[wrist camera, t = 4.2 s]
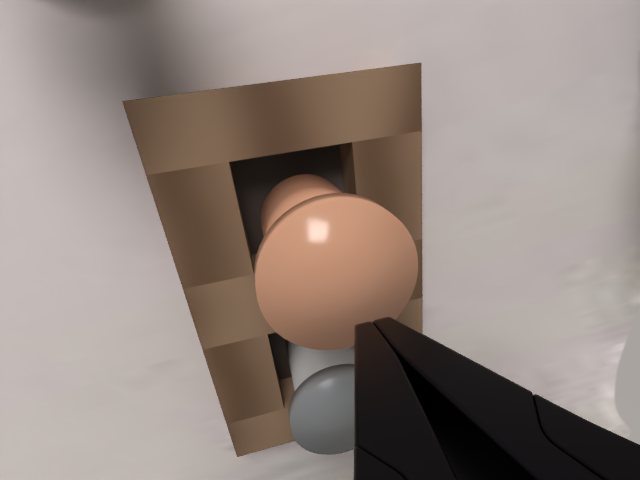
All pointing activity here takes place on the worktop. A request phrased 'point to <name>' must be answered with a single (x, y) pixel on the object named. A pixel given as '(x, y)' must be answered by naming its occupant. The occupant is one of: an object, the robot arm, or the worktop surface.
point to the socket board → (247, 200)
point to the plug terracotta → (330, 263)
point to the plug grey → (322, 398)
